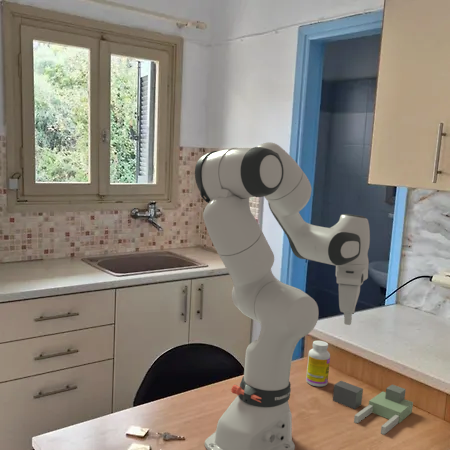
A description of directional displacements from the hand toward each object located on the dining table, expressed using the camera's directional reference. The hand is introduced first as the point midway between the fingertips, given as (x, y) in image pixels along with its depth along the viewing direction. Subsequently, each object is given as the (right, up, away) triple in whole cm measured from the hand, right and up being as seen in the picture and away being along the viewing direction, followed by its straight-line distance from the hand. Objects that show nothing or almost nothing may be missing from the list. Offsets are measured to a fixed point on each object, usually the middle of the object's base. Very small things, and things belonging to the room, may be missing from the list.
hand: (349, 318), depth 147 cm
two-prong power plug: (+8, -26, -5) cm, 28 cm away
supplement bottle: (-7, -23, +14) cm, 27 cm away
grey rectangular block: (0, -25, +2) cm, 25 cm away
